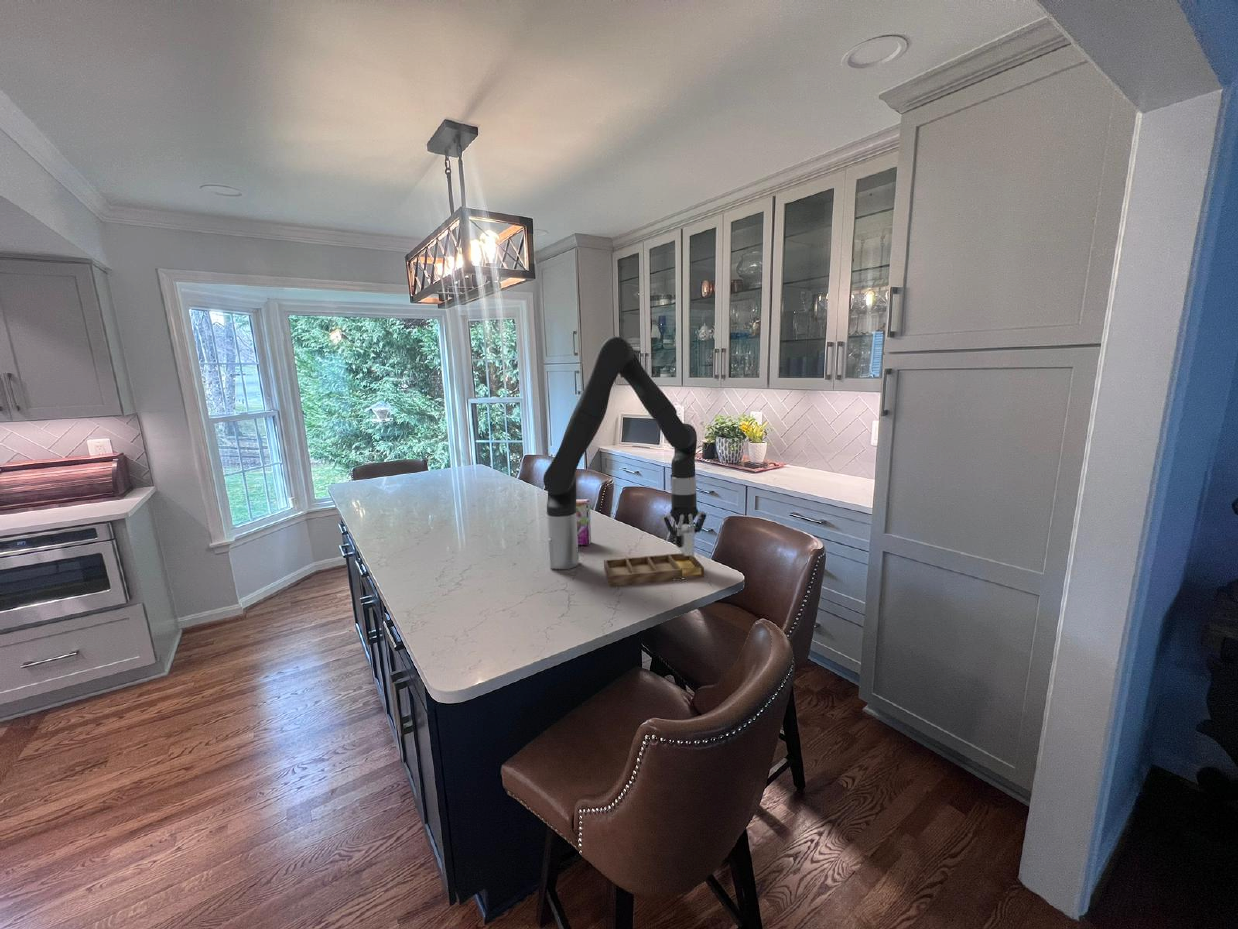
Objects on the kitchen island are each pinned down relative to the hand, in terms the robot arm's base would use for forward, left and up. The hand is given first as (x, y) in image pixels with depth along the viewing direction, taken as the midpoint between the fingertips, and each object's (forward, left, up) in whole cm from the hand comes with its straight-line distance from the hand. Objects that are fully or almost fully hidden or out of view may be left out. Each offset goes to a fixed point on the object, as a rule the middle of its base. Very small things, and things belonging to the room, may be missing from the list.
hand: (684, 546), depth 151 cm
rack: (-10, 0, -8) cm, 13 cm away
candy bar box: (-31, +34, -8) cm, 47 cm away
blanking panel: (0, 0, -1) cm, 1 cm away
